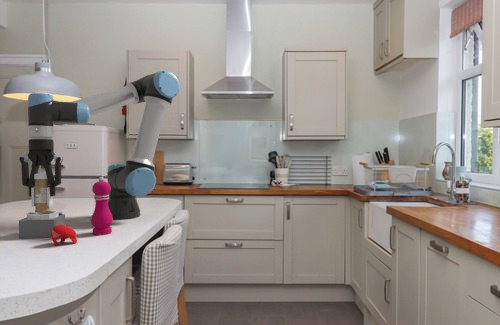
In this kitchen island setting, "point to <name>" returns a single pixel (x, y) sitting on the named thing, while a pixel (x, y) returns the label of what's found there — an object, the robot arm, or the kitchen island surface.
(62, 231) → the red animal figurine
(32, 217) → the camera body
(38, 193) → the sprinkles bottle
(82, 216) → the kitchen island surface
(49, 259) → the kitchen island surface
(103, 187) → the pepper mill
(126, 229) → the kitchen island surface
